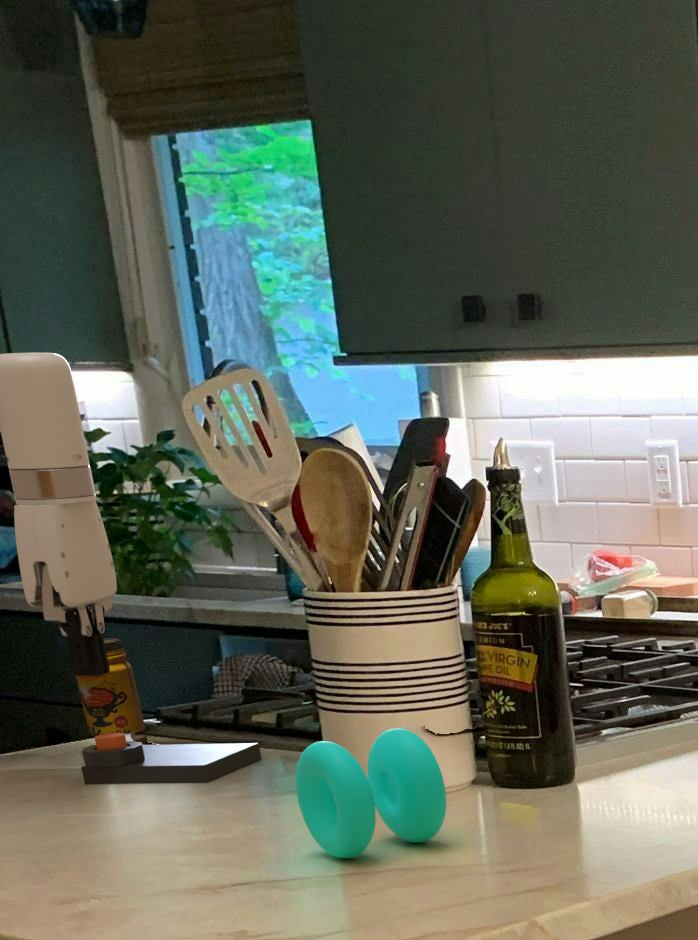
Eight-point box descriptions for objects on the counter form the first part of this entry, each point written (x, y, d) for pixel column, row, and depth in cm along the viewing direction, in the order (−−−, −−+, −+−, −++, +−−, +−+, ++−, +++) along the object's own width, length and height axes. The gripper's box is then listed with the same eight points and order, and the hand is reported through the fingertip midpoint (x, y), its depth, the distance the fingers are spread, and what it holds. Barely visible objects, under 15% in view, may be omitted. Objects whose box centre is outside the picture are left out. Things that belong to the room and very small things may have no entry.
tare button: (91, 753, 203) (88, 738, 202) (107, 747, 206) (104, 732, 205) (118, 752, 202) (114, 737, 202) (133, 747, 205) (130, 732, 204)
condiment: (91, 756, 219) (66, 647, 214) (85, 745, 225) (61, 639, 221) (159, 748, 221) (136, 640, 216) (151, 737, 228) (129, 633, 223)
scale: (78, 786, 203) (70, 752, 202) (140, 762, 214) (134, 730, 213) (205, 784, 201) (198, 750, 199) (262, 760, 212) (256, 728, 211)
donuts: (460, 846, 170) (442, 731, 166) (357, 869, 164) (336, 750, 160) (403, 831, 177) (384, 720, 173) (301, 852, 171) (280, 738, 166)
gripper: (61, 482, 201) (98, 663, 208) (-26, 493, 187) (17, 686, 195) (128, 481, 200) (163, 663, 207) (45, 492, 186) (85, 686, 194)
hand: (92, 674), depth 201 cm, fingers closed
